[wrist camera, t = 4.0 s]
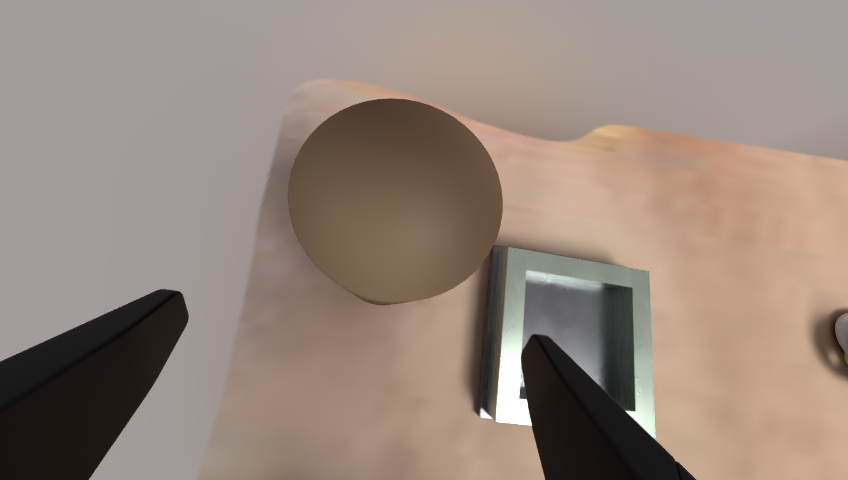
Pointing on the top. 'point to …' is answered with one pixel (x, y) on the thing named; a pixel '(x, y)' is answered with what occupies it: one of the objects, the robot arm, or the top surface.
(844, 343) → the pacifier
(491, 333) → the green square tray
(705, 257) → the top surface
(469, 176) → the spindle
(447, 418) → the top surface
